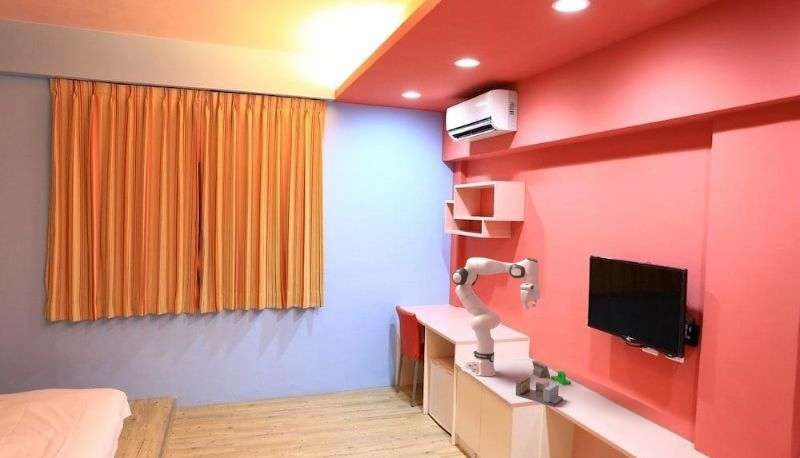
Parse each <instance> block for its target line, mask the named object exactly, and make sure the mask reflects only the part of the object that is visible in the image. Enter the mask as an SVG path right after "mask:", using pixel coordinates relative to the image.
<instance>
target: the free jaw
mask: <svg viewBox="0 0 800 458" xmlns="http://www.w3.org/2000/svg"><path fill="white" fill-rule="evenodd" d="M559 384H560V383H555V382H554V383H550V384H549V386H548V387H546V388H545V389H544V394H543V399H544V401H545V402H548V403H549V402H552V403H557V402H558V401H559V400H561V399H562V398H563V396H561V395H559V391H560V390H559V389H560V388H559V387H560V386H559Z"/></svg>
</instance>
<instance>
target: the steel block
mask: <svg viewBox="0 0 800 458" xmlns="http://www.w3.org/2000/svg"><path fill="white" fill-rule="evenodd" d="M550 382H551V381H550V380H547V379H544V378H540V379H539V380H537V381H535V389H534V390H535V391H539V392H543V393H544V389H545V388H546V387H548V386H550V384H551V383H550Z"/></svg>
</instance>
